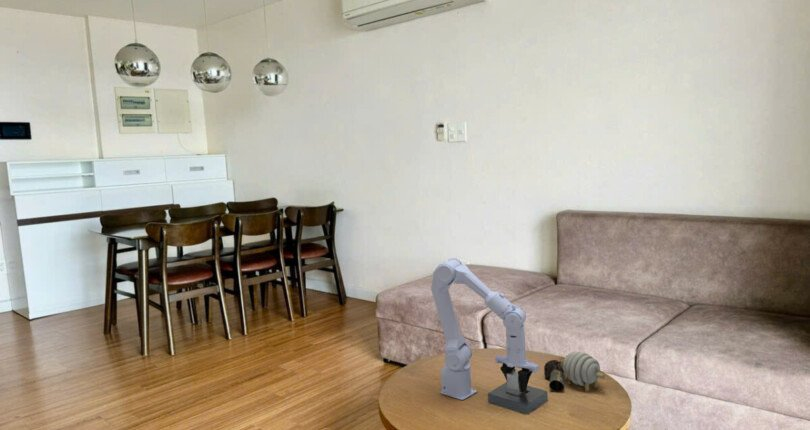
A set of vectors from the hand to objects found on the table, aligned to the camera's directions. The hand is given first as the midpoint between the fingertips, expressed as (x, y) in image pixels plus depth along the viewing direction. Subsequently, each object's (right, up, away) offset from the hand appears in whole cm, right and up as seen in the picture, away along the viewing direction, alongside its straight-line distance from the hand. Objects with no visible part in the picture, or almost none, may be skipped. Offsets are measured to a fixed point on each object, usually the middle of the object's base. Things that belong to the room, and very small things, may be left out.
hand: (517, 389), depth 175 cm
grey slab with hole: (0, -4, 0) cm, 4 cm away
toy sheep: (+23, -2, +9) cm, 25 cm away
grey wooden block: (0, -2, 0) cm, 2 cm away
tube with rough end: (+15, -2, +14) cm, 21 cm away
